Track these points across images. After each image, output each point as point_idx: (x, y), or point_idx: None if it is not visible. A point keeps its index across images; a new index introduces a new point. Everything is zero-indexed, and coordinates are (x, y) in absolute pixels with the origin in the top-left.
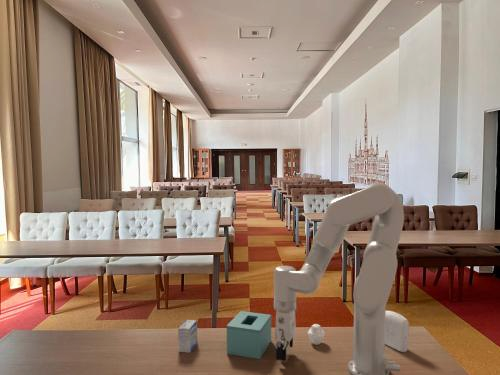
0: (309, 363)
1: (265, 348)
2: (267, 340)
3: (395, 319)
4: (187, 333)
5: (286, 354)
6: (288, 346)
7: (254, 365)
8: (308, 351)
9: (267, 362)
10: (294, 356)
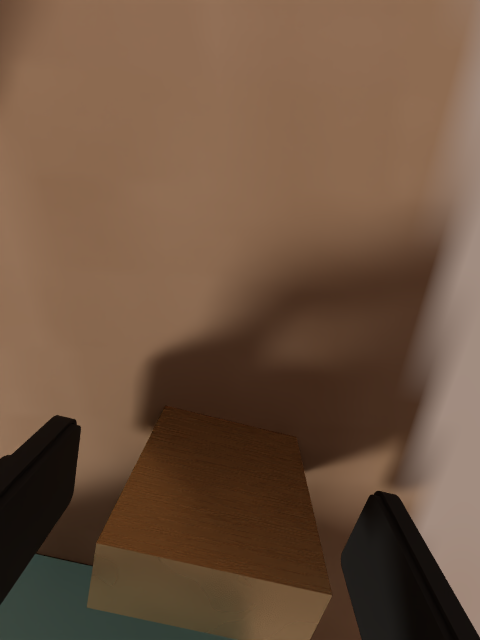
0: (305, 221)
1: None
2: (7, 628)
3: None
4: None
5: (301, 499)
6: (193, 525)
7: (335, 625)
8: (36, 215)
9: None
10: (172, 365)
